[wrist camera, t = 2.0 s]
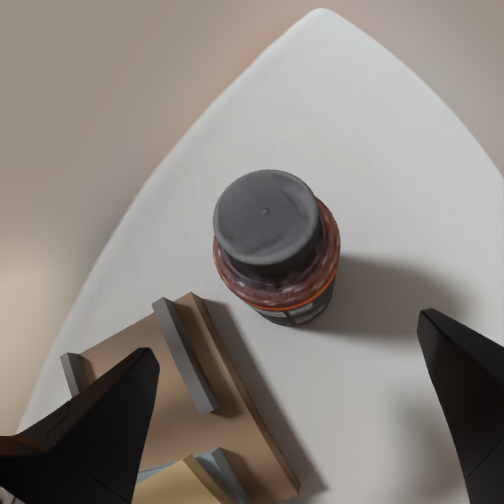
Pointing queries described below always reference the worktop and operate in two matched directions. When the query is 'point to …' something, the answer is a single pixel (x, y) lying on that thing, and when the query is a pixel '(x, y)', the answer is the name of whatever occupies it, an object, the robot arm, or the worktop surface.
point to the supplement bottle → (276, 246)
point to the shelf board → (193, 413)
